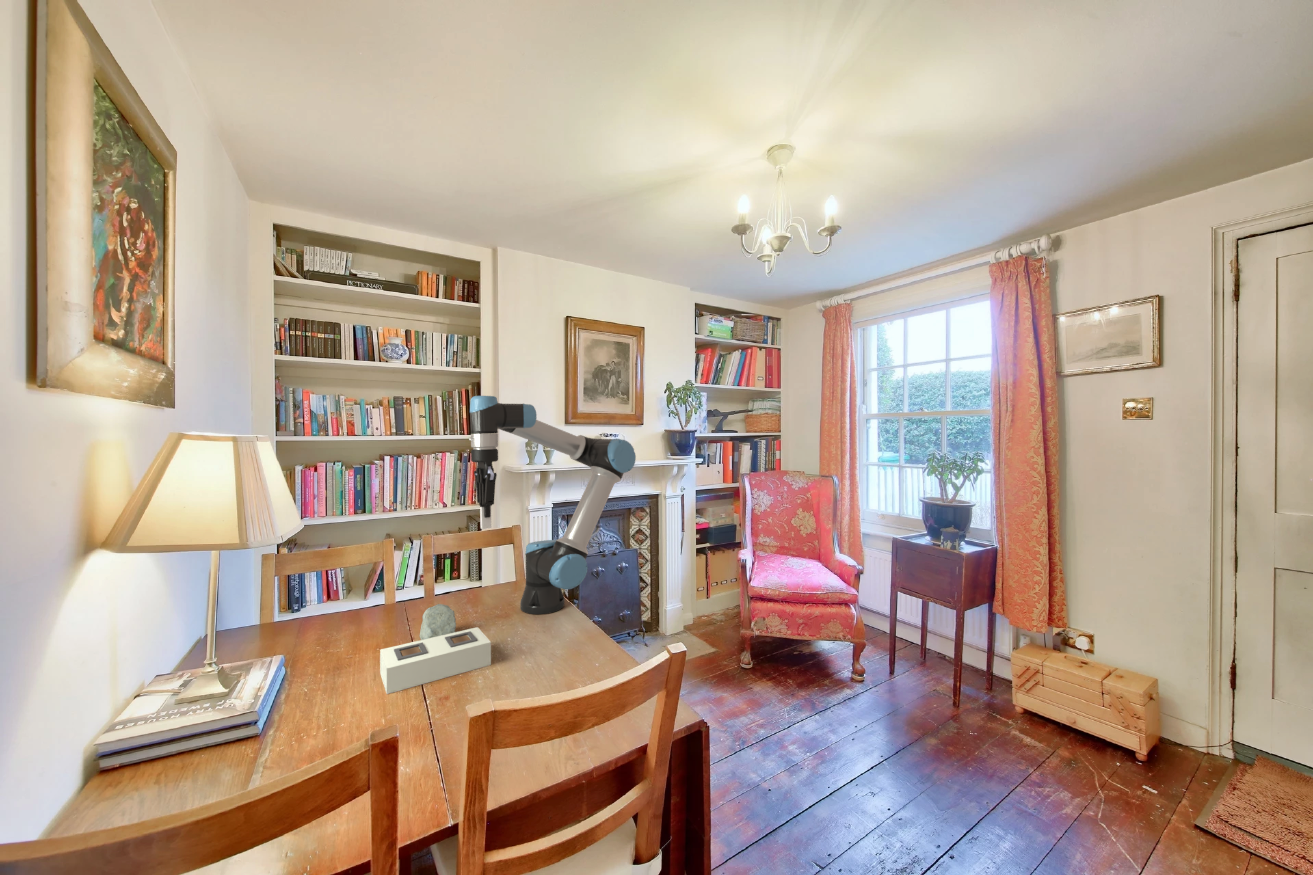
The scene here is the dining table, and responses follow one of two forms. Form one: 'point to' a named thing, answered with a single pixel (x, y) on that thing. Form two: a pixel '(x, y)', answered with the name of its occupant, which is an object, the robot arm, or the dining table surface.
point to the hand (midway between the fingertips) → (485, 527)
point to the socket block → (433, 659)
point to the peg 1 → (410, 651)
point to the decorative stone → (437, 622)
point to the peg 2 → (460, 639)
